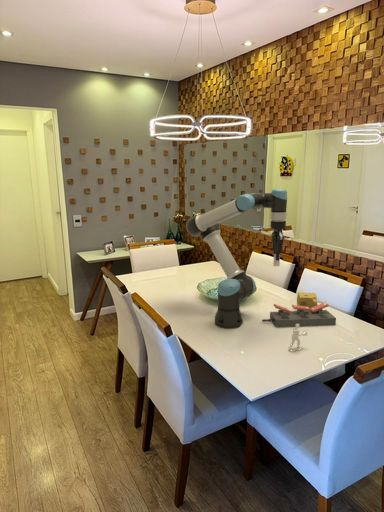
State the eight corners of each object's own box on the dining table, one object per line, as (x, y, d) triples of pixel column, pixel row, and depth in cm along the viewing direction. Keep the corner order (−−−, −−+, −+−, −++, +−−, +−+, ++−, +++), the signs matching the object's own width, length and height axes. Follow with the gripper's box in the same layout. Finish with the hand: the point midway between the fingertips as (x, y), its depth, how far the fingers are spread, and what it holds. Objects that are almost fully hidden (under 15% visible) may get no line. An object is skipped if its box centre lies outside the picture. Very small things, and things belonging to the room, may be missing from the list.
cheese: (317, 314, 202) (318, 298, 200) (297, 313, 204) (298, 297, 202) (314, 308, 212) (315, 292, 210) (296, 307, 214) (297, 291, 212)
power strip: (265, 327, 185) (265, 318, 184) (259, 318, 197) (259, 309, 196) (335, 325, 187) (336, 315, 186) (325, 316, 199) (326, 307, 198)
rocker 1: (275, 309, 190) (276, 306, 190) (273, 306, 194) (274, 303, 194) (290, 314, 191) (291, 311, 191) (287, 311, 195) (289, 308, 195)
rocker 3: (313, 313, 192) (312, 310, 192) (310, 311, 196) (309, 308, 196) (329, 307, 192) (328, 304, 192) (325, 304, 196) (324, 301, 195)
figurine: (285, 349, 162) (286, 325, 159) (298, 344, 167) (300, 320, 164) (294, 353, 158) (295, 328, 155) (307, 347, 163) (308, 323, 160)
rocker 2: (293, 310, 191) (294, 307, 191) (291, 307, 195) (292, 304, 195) (309, 312, 192) (310, 309, 192) (307, 309, 196) (307, 306, 195)
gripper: (290, 221, 171) (287, 268, 176) (281, 218, 184) (279, 262, 189) (274, 222, 171) (272, 269, 176) (267, 219, 183) (265, 263, 188)
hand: (276, 265), depth 182 cm, fingers closed
